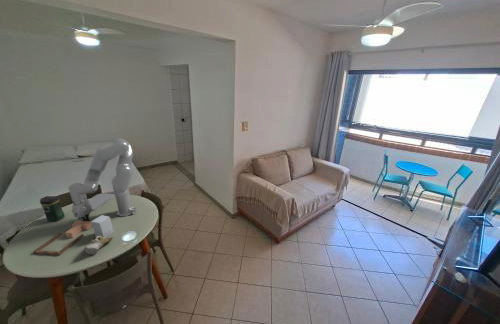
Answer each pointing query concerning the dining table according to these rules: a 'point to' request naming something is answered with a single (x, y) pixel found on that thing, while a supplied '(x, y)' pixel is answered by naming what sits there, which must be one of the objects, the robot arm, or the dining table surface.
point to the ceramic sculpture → (96, 244)
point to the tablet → (99, 200)
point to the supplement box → (102, 226)
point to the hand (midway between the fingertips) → (87, 222)
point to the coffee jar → (52, 208)
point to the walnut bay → (39, 251)
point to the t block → (78, 228)
